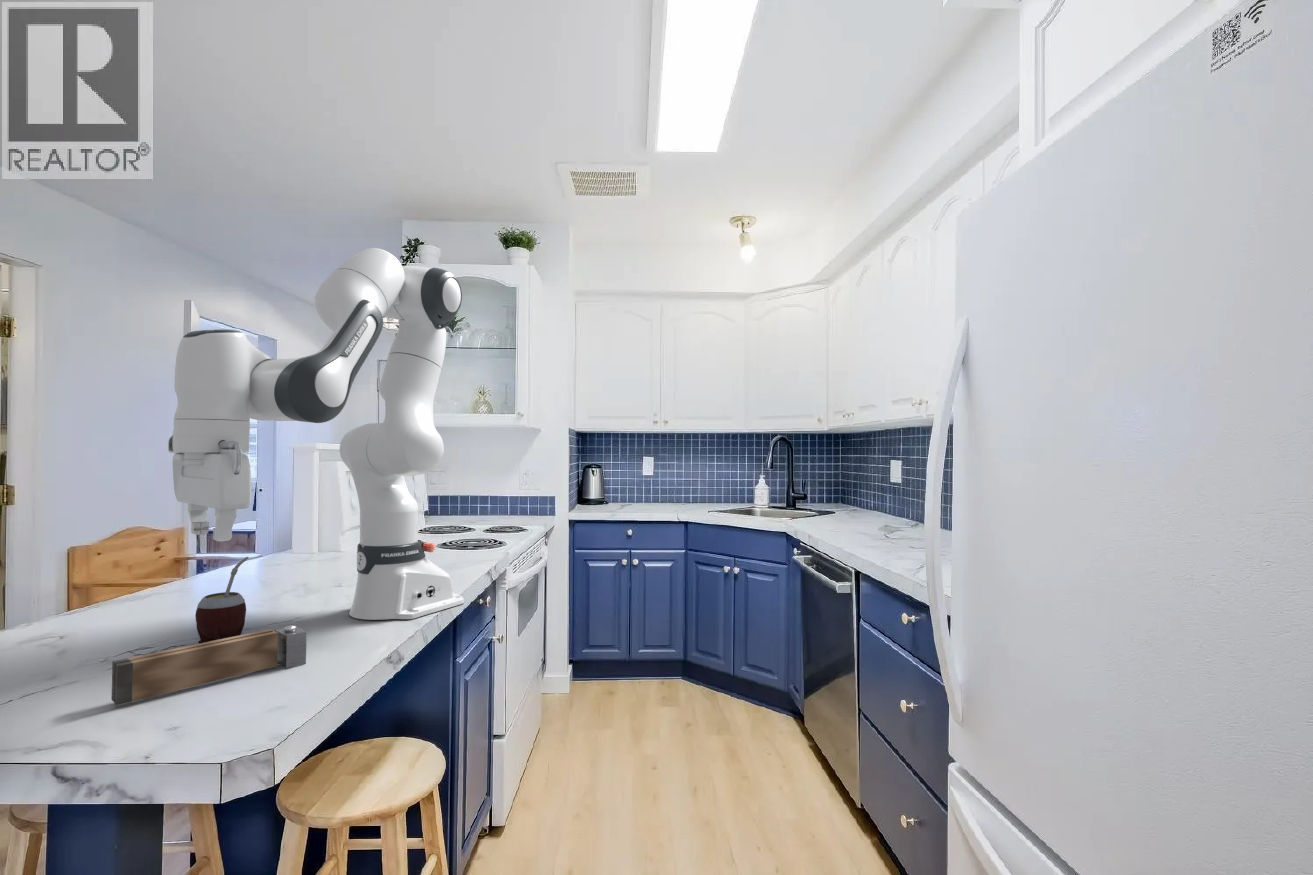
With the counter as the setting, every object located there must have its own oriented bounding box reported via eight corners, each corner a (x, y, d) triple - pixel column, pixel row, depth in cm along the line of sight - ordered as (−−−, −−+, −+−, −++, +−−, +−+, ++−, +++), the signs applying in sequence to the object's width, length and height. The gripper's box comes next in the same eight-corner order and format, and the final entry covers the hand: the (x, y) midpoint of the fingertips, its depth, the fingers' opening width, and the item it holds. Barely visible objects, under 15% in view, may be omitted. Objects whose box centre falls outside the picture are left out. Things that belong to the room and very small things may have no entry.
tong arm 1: (269, 661, 94) (270, 628, 94) (272, 663, 93) (273, 630, 93) (111, 699, 79) (112, 661, 79) (113, 702, 78) (114, 663, 78)
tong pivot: (292, 657, 97) (293, 622, 97) (305, 663, 94) (306, 627, 94) (273, 661, 95) (274, 625, 95) (286, 668, 92) (286, 631, 92)
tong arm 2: (274, 663, 93) (274, 631, 93) (277, 665, 92) (278, 632, 92) (114, 702, 78) (115, 663, 78) (116, 705, 77) (117, 666, 77)
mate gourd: (201, 638, 106) (203, 552, 107) (254, 633, 110) (256, 550, 110) (188, 651, 100) (191, 559, 100) (245, 645, 103) (248, 556, 103)
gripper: (265, 441, 83) (264, 542, 83) (214, 441, 95) (212, 529, 95) (210, 440, 78) (208, 547, 78) (164, 440, 90) (162, 533, 90)
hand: (210, 537), depth 87 cm, fingers open, 8 cm apart
